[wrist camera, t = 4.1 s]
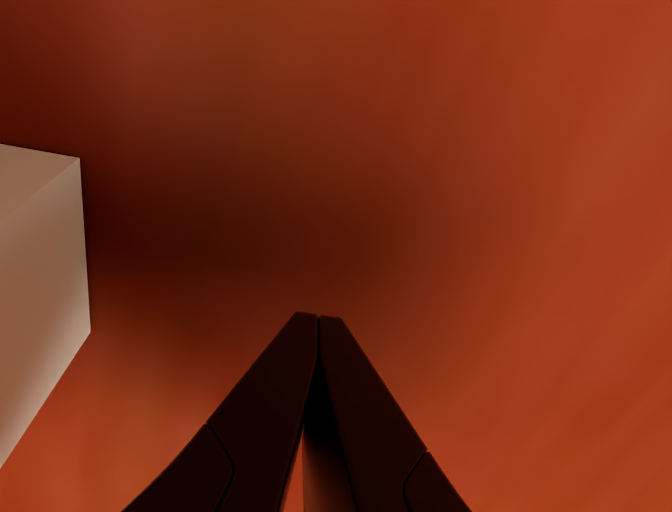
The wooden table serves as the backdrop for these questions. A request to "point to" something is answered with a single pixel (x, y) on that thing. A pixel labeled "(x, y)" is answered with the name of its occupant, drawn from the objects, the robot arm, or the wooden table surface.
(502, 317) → the wooden table surface
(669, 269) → the wooden table surface
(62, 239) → the t block
